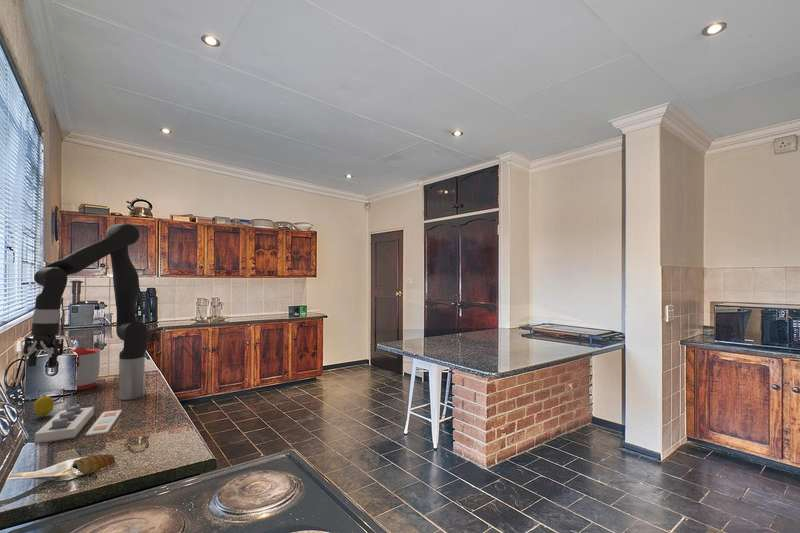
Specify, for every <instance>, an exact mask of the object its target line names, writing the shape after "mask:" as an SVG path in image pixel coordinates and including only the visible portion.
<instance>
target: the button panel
mask: <svg viewBox="0 0 800 533" xmlns="http://www.w3.org/2000/svg"><path fill="white" fill-rule="evenodd" d="M94 410H95V407H94V406H89V407H82V408H81V413H80V414H75V416H74V421H68V427H67V428H61V429H54V430H52V421H54V420H56V419H60V414H61V413H64V412H67V409H66V410H60V411H58V413H56V415H54V416H53V417H52V418H51V419H50V420H48V421H47V423H45V424H44V425H43V426H42V427H41V428H40V429H39V430H37V432H35V433H34V444H40V443H41V444H42V443H47V442H48V443H49V442H53V441H55V442H56V441H62V440H68V439H75V438H76V437H77V435H78V434H79V433H80V432H81V431H82V429H83V428H84V427H85V426H86V425H87V423H88V422H89V421H90V420H91V419H92V418H93V417H94V415H95V411H94Z"/></svg>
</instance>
